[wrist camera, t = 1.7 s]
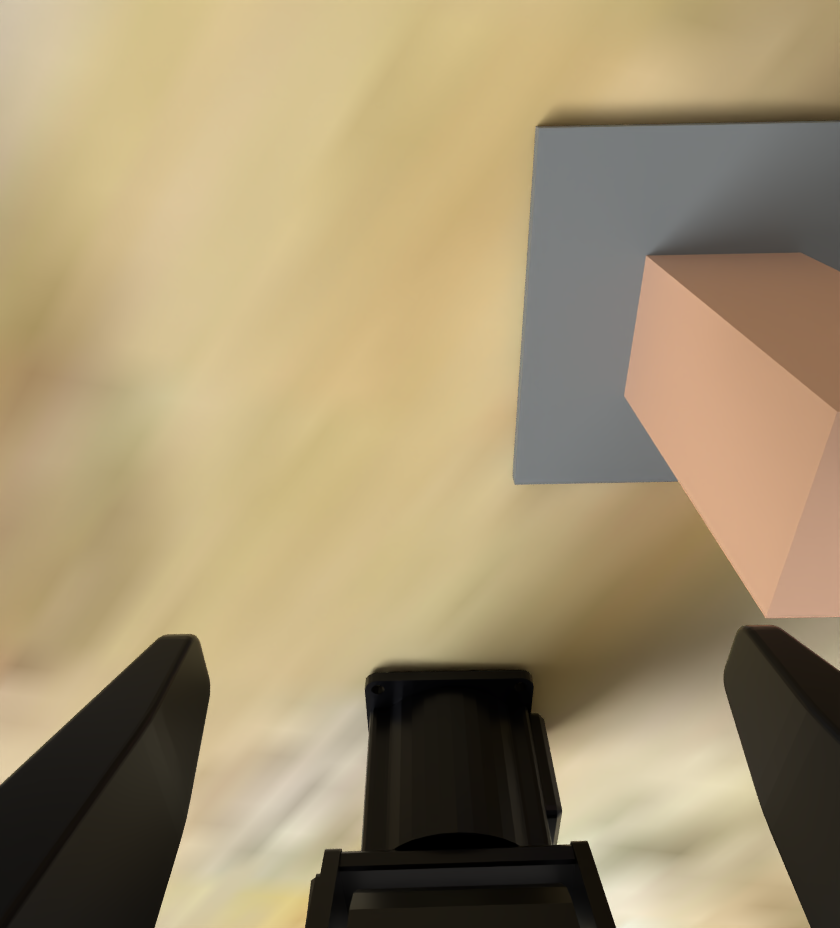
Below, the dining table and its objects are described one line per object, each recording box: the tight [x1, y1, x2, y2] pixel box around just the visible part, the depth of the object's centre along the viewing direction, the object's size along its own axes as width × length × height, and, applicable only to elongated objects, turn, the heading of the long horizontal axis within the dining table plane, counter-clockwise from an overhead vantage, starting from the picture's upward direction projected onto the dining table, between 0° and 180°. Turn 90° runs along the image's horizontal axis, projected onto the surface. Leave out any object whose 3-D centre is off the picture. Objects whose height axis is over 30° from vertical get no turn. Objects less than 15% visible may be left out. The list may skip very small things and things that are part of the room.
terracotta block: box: [624, 253, 840, 618], centre depth 14 cm, size 4×4×9 cm
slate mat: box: [513, 121, 840, 485], centre depth 18 cm, size 16×10×1 cm, turn 91°
